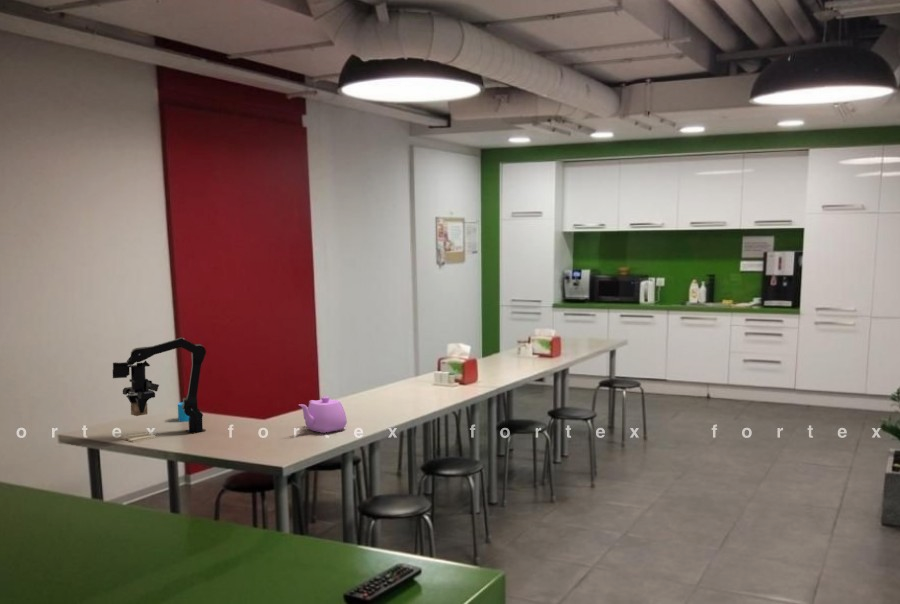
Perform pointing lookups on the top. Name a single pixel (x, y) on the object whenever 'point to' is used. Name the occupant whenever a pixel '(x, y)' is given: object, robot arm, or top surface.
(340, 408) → the teapot
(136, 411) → the walnut cube
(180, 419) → the mug
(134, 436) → the birch coaster
